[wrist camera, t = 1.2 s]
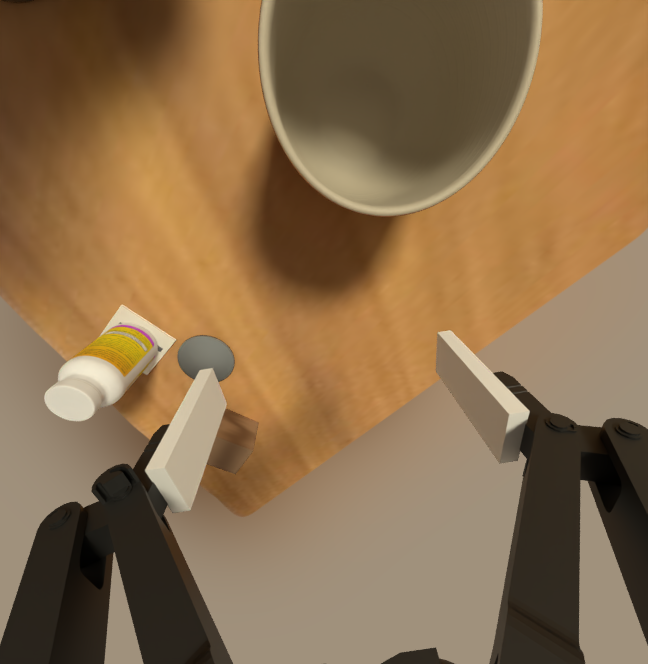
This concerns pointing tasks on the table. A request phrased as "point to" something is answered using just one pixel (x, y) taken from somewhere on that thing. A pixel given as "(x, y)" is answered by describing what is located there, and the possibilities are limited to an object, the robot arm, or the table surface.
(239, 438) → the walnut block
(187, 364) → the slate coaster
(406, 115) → the planter
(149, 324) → the tile
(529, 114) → the table surface
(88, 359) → the supplement bottle
